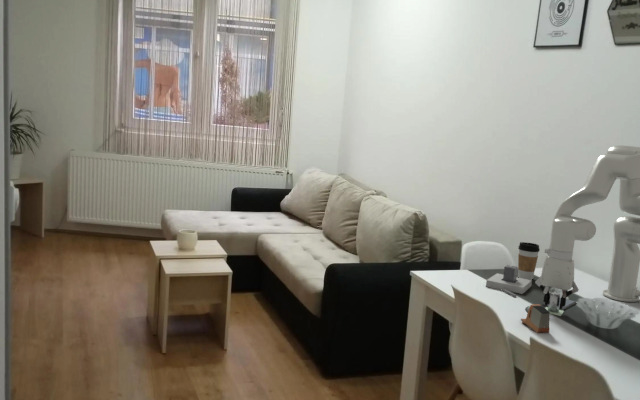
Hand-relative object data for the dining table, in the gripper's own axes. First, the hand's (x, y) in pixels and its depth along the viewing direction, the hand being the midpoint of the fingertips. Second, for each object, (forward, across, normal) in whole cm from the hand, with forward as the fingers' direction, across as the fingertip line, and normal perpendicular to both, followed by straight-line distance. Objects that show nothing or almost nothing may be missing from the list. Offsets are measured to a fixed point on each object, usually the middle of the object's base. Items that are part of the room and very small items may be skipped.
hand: (554, 305), depth 204 cm
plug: (+2, 0, 0) cm, 2 cm away
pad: (+2, 0, 0) cm, 2 cm away
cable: (+2, -18, +10) cm, 21 cm away
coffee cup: (+2, -19, +39) cm, 43 cm away
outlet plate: (+2, -21, +21) cm, 30 cm away
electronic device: (+3, -1, -21) cm, 22 cm away
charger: (+2, -21, +21) cm, 30 cm away
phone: (+3, 0, +11) cm, 11 cm away
